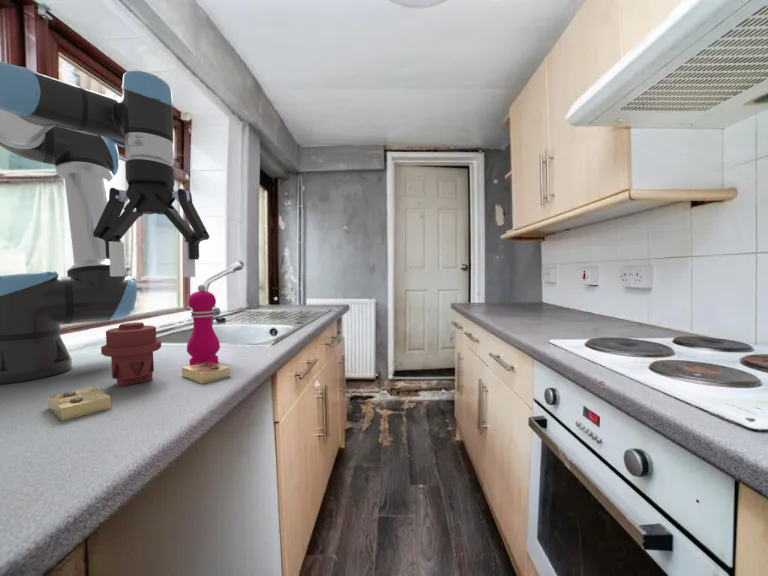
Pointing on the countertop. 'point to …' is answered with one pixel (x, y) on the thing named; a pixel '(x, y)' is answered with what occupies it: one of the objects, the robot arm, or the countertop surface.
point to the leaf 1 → (79, 403)
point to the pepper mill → (202, 328)
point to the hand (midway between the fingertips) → (153, 276)
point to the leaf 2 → (205, 372)
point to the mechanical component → (131, 352)
